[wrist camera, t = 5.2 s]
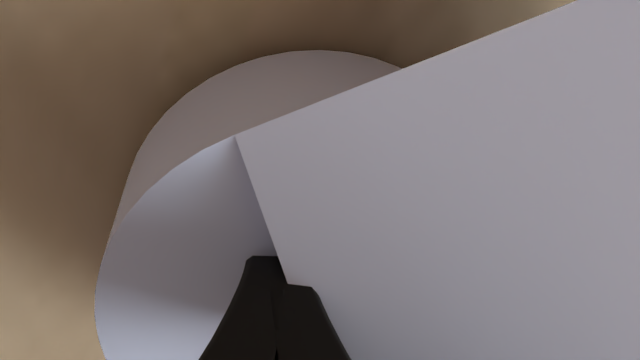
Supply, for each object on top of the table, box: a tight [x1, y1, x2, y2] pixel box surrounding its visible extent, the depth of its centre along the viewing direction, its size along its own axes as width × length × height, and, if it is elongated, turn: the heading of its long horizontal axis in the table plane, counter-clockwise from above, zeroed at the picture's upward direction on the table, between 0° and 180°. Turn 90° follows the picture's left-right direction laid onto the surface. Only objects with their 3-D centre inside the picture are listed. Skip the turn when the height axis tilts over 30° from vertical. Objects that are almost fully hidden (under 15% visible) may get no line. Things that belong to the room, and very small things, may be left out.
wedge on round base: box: [95, 0, 640, 360], centre depth 12 cm, size 9×7×13 cm
